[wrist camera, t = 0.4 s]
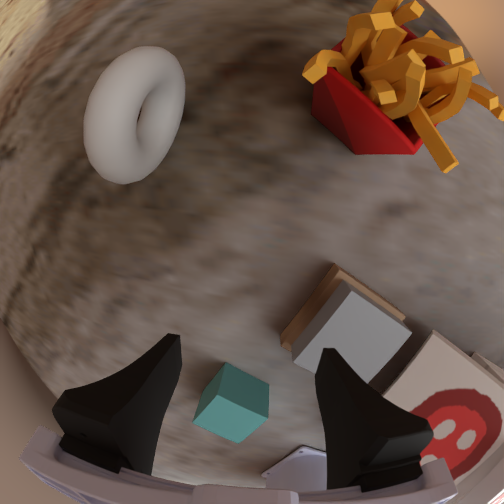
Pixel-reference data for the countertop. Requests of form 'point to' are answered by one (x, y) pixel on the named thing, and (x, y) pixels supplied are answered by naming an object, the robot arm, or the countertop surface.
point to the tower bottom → (320, 299)
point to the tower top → (351, 333)
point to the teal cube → (233, 404)
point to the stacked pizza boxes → (458, 415)
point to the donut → (134, 114)
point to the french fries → (393, 85)
